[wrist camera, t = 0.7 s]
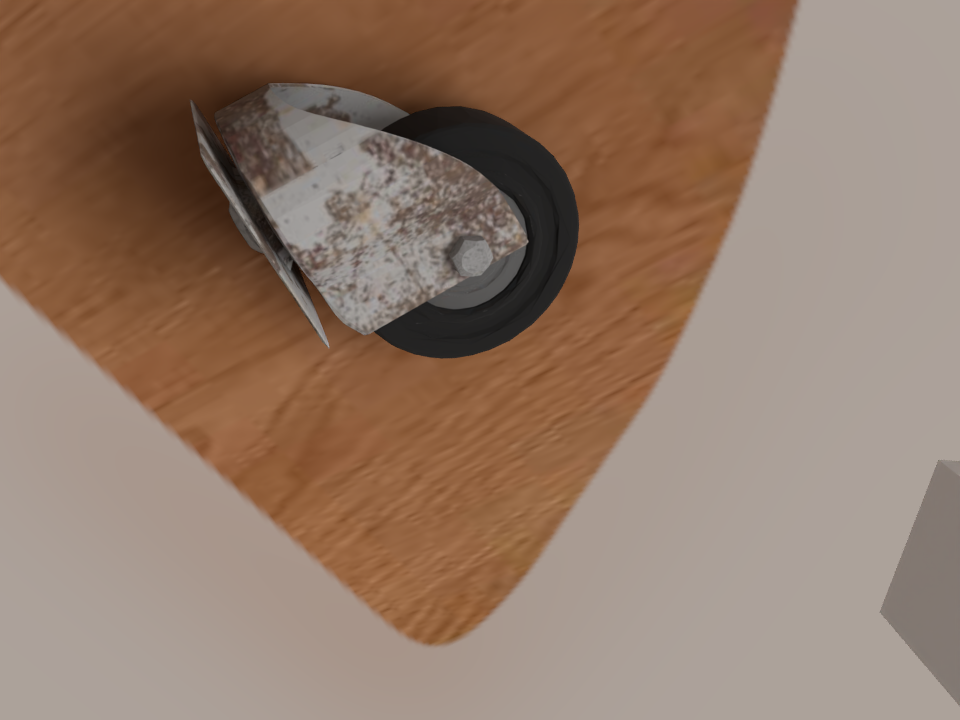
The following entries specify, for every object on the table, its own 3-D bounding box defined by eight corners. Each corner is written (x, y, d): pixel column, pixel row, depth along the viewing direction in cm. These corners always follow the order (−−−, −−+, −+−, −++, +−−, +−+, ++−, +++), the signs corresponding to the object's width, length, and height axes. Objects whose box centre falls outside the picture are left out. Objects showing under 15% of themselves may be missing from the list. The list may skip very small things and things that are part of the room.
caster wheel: (555, 239, 32) (341, 361, 32) (447, -41, 26) (172, 105, 25) (637, 311, 27) (381, 460, 26) (528, -21, 20) (180, 166, 19)
